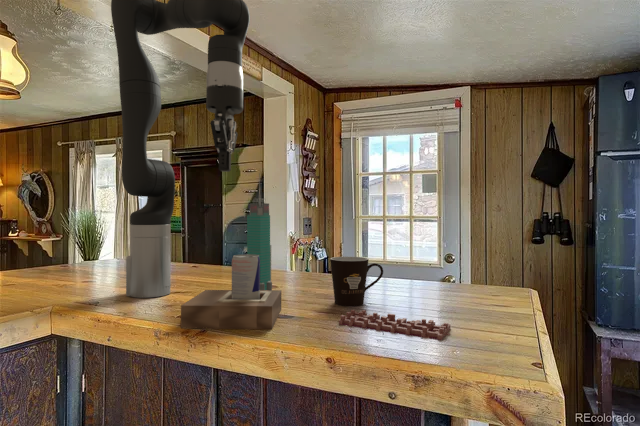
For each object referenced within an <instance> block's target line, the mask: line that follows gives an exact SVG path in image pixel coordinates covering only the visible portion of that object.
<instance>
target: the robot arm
mask: <svg viewBox="0 0 640 426" xmlns="http://www.w3.org/2000/svg"><path fill="white" fill-rule="evenodd" d="M110 10H111V11H110V13H111V22H112V25H113V26H112V28H113V33H114V38H115V45H116V51H117V62H118V76H119V77H118V80H119V82H118V83H119V84H118V85H119V96H120V97H119V98H120V99H119V101H120V107H121V109H120V110H121V122H122V125H121V126H122V148H121V150H122V152H121V153H122V155H121V179H122V185H123V187H124V190H125V191H126V193H127V194H129V195H130V196H133V197H143V198H144V197H147V200H146V203H145V205H144V206H142V208H140V209H137V210H134V211H133V212H131V213H130V217H129V255H127V256H126V258H125V275H126V276H125V284H126V285H125V289H126V290H125V296H126V297H132V298H141V299H142V298H143V299H145V298H146V299H147V298H156V297H157V298H158V297H163V296H168V295H169V294H171V268H172V267H171V264H172V263H171V255H172V254H171V249H172V248H171V241H172V240H171V232H172V231H171V228H172V227H171V226H172V225H171V223H172V221H171V220H172V219H171V218H172V215H173V214H174V213H173V212H174V210H175V208H174V207H175V189H176V188H175V187H176V177H175V172H174V169H173V167H172V165H171V164H170V163H169V162H167V161H165V160H164V161H163V160H159V159H152V158H148V151H147V142H148V141H147V140H148V135H149V134H150V131H151V129H152V127H153V126H154V124H155V122H156V121H157V120H158V118H159V114H161V113H160V112H161V110H162V92H161V82H160V79H159V76H158V73H157V72H156V70H155V68H154V66H153V64H152V63H151V61H150V60H149V57H148V56H147V54H146V53H145V50H144V49H143V47H142V45H141V42H140V39H139V35H138V33H140V34H142V35H147V36H150V35H151V36H152V35H158V34H161V33H164V32H168V31H171V30H175V29H176V30H178V29H206V28H209V27H210V26H212V24H213V25H215V26H217V27H219V28H221V29H222V30H223V34H222V33H221V34H215V35H212V36H211V37H210V38H209V39H208V42H207V43H208V44H207V70H206V84H205V85H206V90H205V91H206V99H205V100H206V104H205V105H206V106H205V107H206V110H207V111H208V112H210V113H213V114H214V118H213V120H210V123H209V124H210V128H211V133H212V139H213V143H214V148H215V149H216V150H217V153H218V171H220V172H224V173H225V172H230V171H232V154H233V153H234V152H235V148H236V145H237V144H236V143H237V139H238V132H237V131H236V130H237V122H236V121H235V118H234V116H235V115H238V114H241V113H242V112H243V111H244V73H243V48H244V44H245V42H246V41H245V40H246V36H247V34H248V33H247V32H248V29H249V25H250V20H251V19H250V18H251V15H250V14H251V13H250V9H249V7H248V5H247V3H246V2H245V1H244V0H167V3H166V2H161V1H159V0H111V3H110Z"/></svg>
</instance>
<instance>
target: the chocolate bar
mask: <svg viewBox="0 0 640 426" xmlns="http://www.w3.org/2000/svg"><path fill="white" fill-rule="evenodd" d="M345 314H346V315H343V314H341V315H340V319H339V320H338V325H340V326H346V325H347V327H352V326H354V328H359V327H360V329H365V328H366V330H371V331H373V330H374V331H381V332H386V333H393V334H398V333H399V335H405V336H410V337H411V336H412V337H418V338H424V339H430V340H431V339H432V340H438V341H442V340H443V339H444V338H445V336H451V333H449V331H450V330H451V324H450V323H448V322H443V324H440V325H437V324H436V322H435V321H434V320H433V319H429V320H428V322H427V319H425V318H422V319H417V320H415V319H414V320H407V319H408V318H406V317H402V318H396V314H395V313H387V315H386V316H383V315H382V316H381V314H378V312H373V313H372V314H368V313H367V311H366V310H364V309H363V310H361V311H356V309H350V311H347V312H346V313H345Z"/></svg>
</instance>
